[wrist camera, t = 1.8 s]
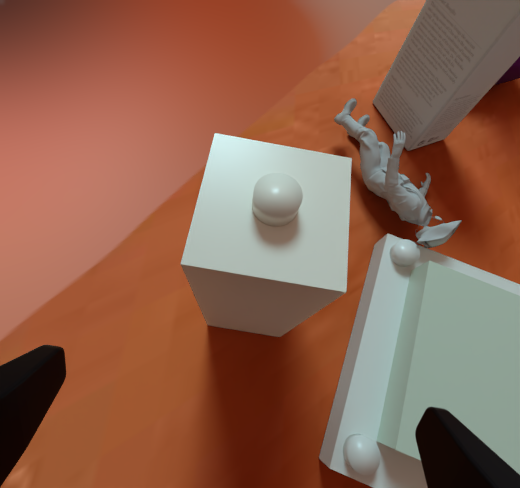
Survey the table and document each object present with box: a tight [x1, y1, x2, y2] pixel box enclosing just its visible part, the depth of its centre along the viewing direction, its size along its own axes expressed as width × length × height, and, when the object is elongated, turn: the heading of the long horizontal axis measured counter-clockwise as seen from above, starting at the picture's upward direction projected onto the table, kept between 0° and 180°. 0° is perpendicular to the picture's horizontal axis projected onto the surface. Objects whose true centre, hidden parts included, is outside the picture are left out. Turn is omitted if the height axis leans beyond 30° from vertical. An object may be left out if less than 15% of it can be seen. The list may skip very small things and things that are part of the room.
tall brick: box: [181, 133, 352, 337], centre depth 15 cm, size 5×5×13 cm
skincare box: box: [373, 0, 520, 151], centre depth 22 cm, size 6×4×12 cm
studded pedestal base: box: [319, 233, 520, 488], centre depth 18 cm, size 14×14×4 cm
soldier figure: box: [334, 99, 462, 248], centre depth 23 cm, size 8×5×12 cm
